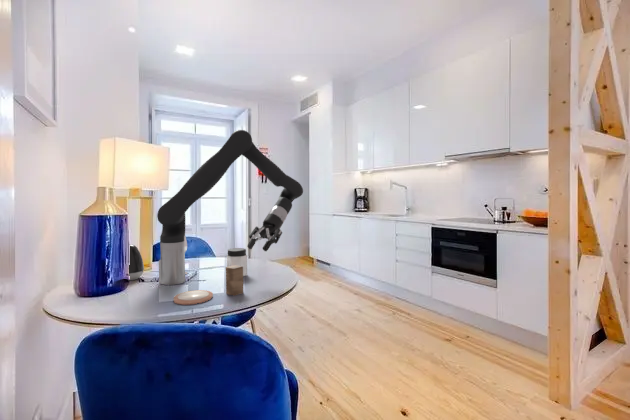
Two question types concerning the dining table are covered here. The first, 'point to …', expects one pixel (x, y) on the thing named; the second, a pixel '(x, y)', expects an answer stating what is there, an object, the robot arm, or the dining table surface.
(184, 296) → the terracotta dish
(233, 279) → the walnut block
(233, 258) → the jar
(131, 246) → the dark grey tapered dome
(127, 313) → the dining table surface
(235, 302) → the dining table surface
